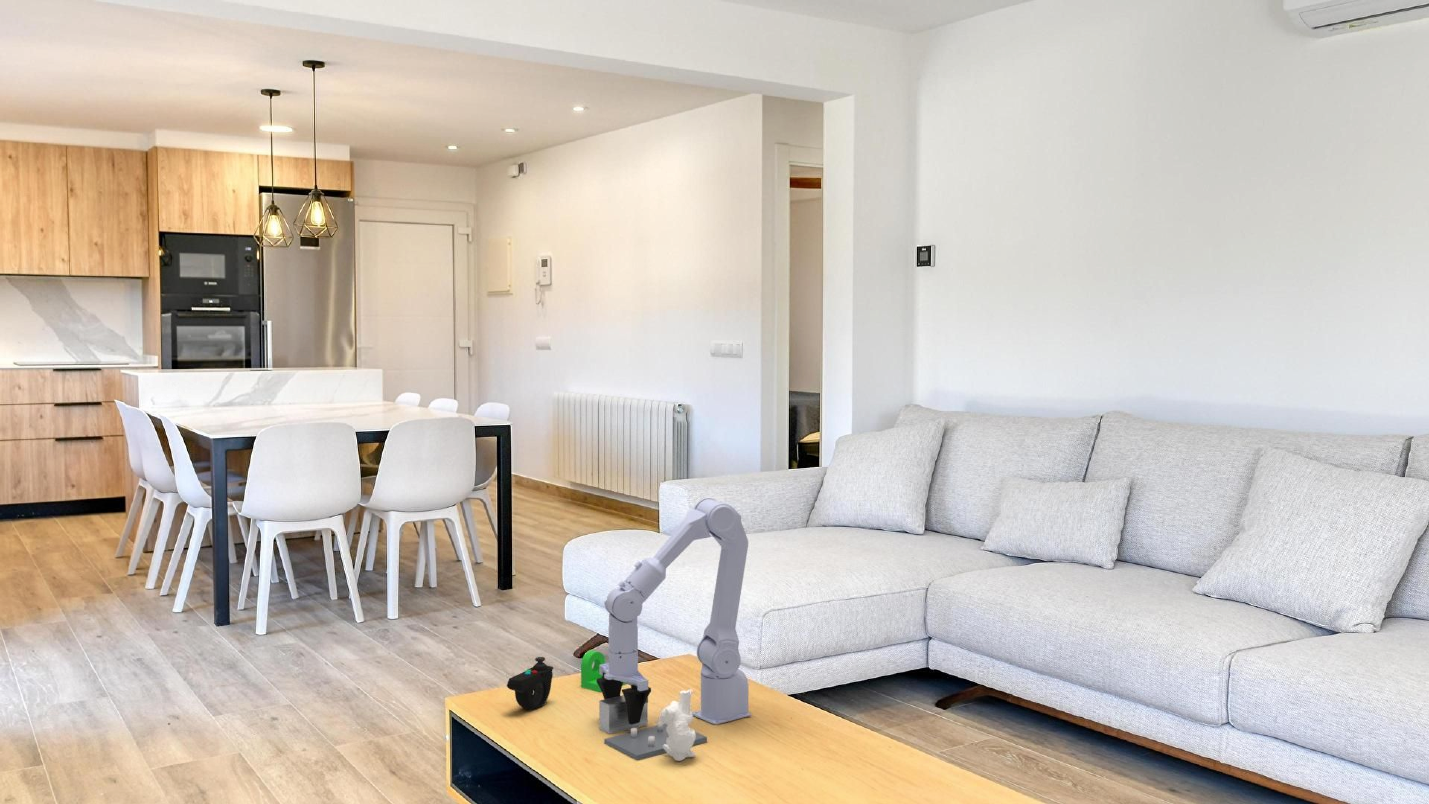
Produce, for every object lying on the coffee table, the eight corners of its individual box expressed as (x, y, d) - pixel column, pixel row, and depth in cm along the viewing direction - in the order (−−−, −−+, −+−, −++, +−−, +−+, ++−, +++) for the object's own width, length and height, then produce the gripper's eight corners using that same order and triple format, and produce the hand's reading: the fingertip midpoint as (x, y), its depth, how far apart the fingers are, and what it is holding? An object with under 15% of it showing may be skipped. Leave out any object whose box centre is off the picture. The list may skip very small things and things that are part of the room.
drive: (637, 721, 233) (637, 691, 233) (648, 726, 230) (648, 696, 230) (599, 730, 228) (599, 700, 227) (609, 735, 225) (609, 705, 224)
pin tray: (673, 726, 230) (672, 713, 229) (706, 742, 221) (706, 728, 221) (604, 744, 220) (604, 730, 220) (636, 760, 211) (636, 746, 211)
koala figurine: (680, 746, 218) (679, 683, 218) (708, 754, 214) (708, 690, 214) (651, 760, 212) (651, 695, 211) (680, 768, 208) (680, 701, 207)
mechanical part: (600, 694, 251) (600, 658, 251) (581, 689, 255) (580, 653, 254) (638, 681, 260) (638, 646, 260) (618, 676, 264) (618, 642, 264)
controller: (556, 703, 245) (556, 656, 244) (521, 720, 234) (521, 671, 233) (539, 700, 246) (539, 653, 246) (504, 717, 235) (503, 668, 235)
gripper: (586, 645, 231) (586, 712, 232) (626, 661, 220) (627, 732, 221) (616, 639, 236) (616, 705, 236) (657, 655, 224) (657, 724, 225)
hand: (623, 718), depth 229 cm, fingers open, 7 cm apart
